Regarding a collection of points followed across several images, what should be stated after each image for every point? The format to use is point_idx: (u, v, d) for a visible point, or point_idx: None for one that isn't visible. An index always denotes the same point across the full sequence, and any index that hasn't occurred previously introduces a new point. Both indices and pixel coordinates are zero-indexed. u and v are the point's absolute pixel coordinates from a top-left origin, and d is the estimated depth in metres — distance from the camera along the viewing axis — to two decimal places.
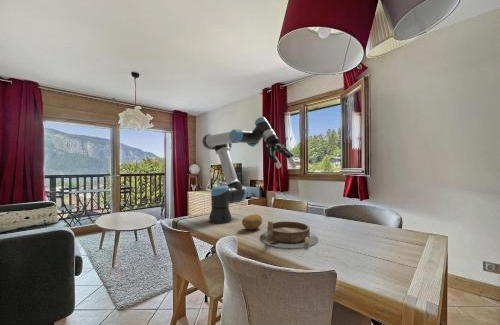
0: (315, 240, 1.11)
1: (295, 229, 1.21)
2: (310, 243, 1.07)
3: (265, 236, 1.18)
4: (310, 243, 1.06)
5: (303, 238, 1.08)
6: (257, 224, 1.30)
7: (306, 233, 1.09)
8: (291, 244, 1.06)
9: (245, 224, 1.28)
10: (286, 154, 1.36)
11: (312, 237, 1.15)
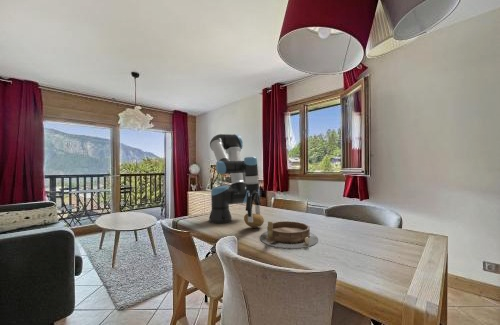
0: (315, 240, 1.11)
1: (295, 229, 1.21)
2: (310, 243, 1.07)
3: (265, 236, 1.18)
4: (310, 243, 1.06)
5: (303, 238, 1.08)
6: (258, 222, 1.31)
7: (306, 233, 1.09)
8: (291, 244, 1.06)
9: (247, 219, 1.29)
10: (256, 202, 1.39)
11: (312, 237, 1.15)
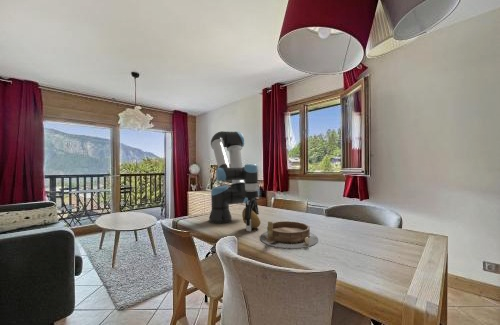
0: (315, 240, 1.11)
1: (295, 229, 1.21)
2: (310, 243, 1.07)
3: (265, 236, 1.18)
4: (310, 243, 1.06)
5: (303, 238, 1.08)
6: (255, 217, 1.30)
7: (306, 233, 1.09)
8: (291, 244, 1.06)
9: None
10: (254, 210, 1.38)
11: (312, 237, 1.15)
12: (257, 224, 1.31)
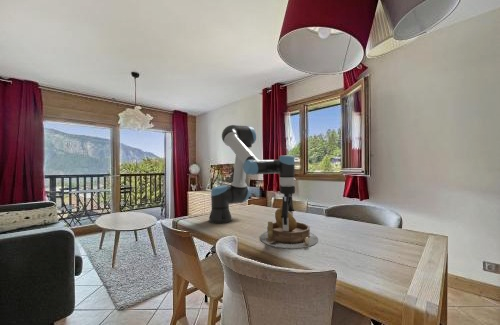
0: (315, 240, 1.11)
1: (295, 229, 1.21)
2: (310, 243, 1.07)
3: (265, 236, 1.18)
4: (310, 243, 1.06)
5: (303, 238, 1.08)
6: (291, 219, 1.13)
7: (306, 233, 1.09)
8: (291, 244, 1.06)
9: (279, 210, 1.14)
10: (290, 207, 1.22)
11: (312, 237, 1.15)
12: (294, 226, 1.14)
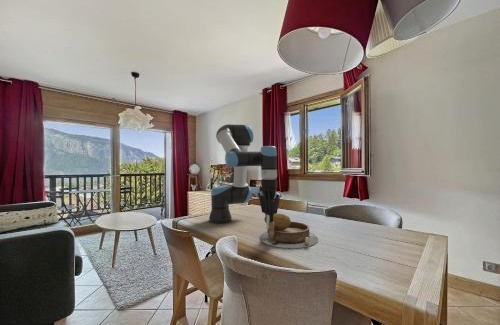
0: (315, 240, 1.11)
1: (294, 228, 1.21)
2: (310, 243, 1.07)
3: (265, 236, 1.18)
4: (310, 243, 1.06)
5: (304, 238, 1.08)
6: (280, 216, 1.14)
7: (307, 233, 1.10)
8: (291, 244, 1.06)
9: None
10: None
11: (312, 237, 1.15)
12: (288, 220, 1.15)
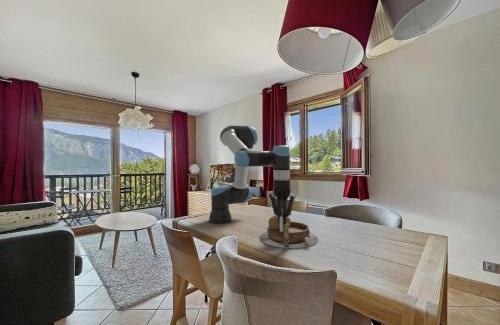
0: (315, 240, 1.11)
1: (288, 228, 1.23)
2: (310, 243, 1.07)
3: (265, 236, 1.18)
4: (310, 243, 1.06)
5: (309, 235, 1.13)
6: None
7: None
8: (291, 244, 1.06)
9: (273, 220, 1.09)
10: None
11: (312, 237, 1.15)
12: (290, 220, 1.15)
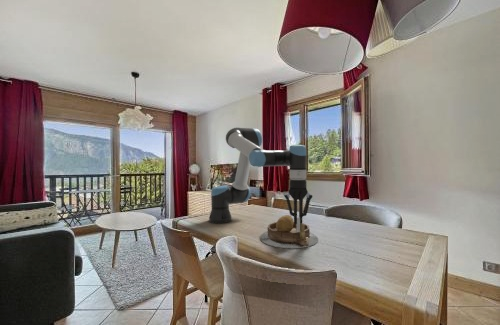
0: (315, 240, 1.11)
1: None
2: (310, 243, 1.07)
3: (265, 236, 1.18)
4: (310, 243, 1.06)
5: None
6: (291, 217, 1.12)
7: None
8: (291, 244, 1.06)
9: (285, 222, 1.06)
10: (299, 209, 1.04)
11: (312, 237, 1.15)
12: None
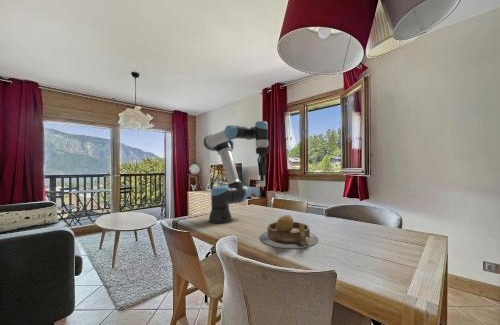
0: (315, 240, 1.11)
1: None
2: (310, 243, 1.07)
3: (265, 236, 1.18)
4: (310, 243, 1.06)
5: None
6: (291, 217, 1.12)
7: None
8: (291, 244, 1.06)
9: (285, 222, 1.06)
10: None
11: (312, 237, 1.15)
12: None
